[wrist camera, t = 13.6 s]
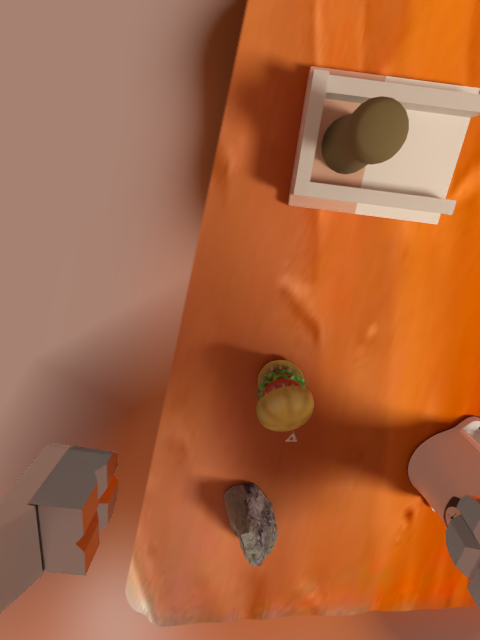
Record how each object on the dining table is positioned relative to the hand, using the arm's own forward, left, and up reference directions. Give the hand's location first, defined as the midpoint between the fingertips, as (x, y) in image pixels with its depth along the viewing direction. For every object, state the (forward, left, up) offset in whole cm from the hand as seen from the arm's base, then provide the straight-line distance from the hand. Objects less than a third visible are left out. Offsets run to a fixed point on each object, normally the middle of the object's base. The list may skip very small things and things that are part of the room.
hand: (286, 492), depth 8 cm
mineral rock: (-5, +46, -39) cm, 60 cm away
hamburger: (-6, +18, -39) cm, 43 cm away
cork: (-8, -13, -37) cm, 40 cm away
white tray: (-12, -13, -39) cm, 42 cm away
